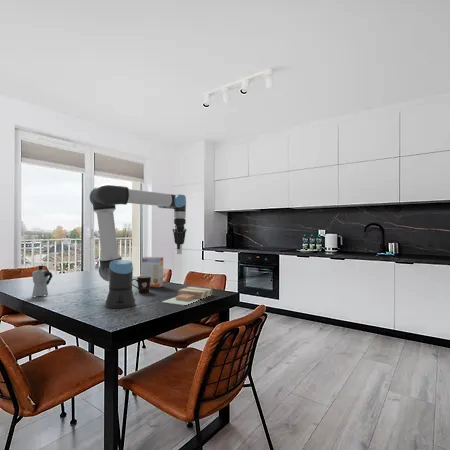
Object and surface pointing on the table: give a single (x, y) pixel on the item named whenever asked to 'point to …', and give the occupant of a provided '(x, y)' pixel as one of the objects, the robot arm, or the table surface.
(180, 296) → the coaster
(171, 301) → the mat
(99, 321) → the table surface
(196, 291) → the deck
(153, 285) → the cracker box
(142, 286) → the coffee mug
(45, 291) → the coffee maker
